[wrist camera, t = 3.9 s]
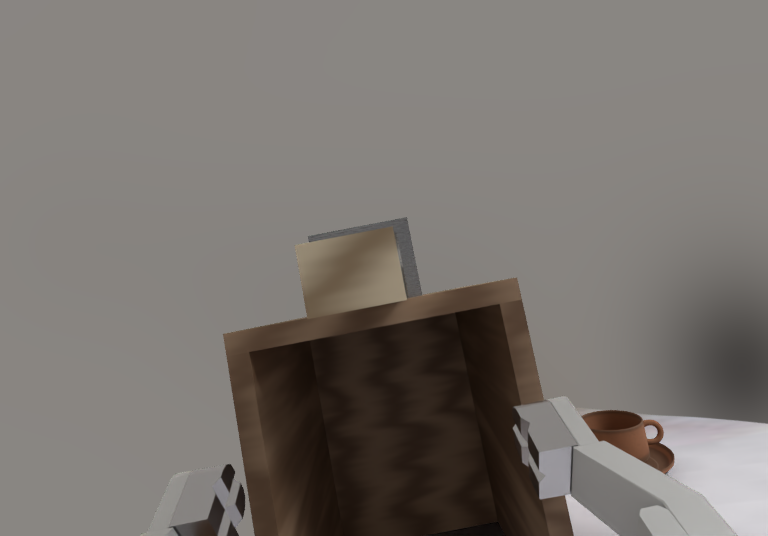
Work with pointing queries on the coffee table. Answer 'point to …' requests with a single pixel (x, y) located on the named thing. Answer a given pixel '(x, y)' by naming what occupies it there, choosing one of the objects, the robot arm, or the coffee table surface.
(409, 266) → the metal tunnel
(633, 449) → the cup and saucer
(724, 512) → the coffee table surface
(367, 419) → the brown tall wooden box
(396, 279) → the beech bar
